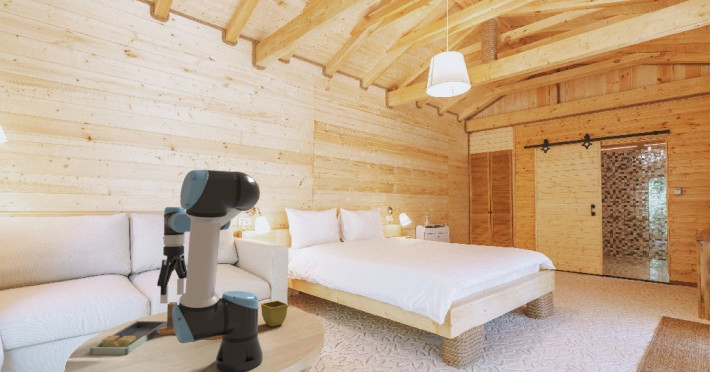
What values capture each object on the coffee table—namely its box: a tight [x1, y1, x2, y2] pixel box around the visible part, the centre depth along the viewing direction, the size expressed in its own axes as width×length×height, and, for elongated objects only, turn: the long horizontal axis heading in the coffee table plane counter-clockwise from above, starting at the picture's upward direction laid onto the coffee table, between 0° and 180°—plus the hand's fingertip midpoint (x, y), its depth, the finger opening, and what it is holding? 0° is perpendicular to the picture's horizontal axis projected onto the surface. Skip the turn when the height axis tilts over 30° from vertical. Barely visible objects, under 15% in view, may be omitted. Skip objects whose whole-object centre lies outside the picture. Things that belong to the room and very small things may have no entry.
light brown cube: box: [118, 336, 136, 347], centre depth 134 cm, size 4×4×4 cm
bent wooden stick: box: [158, 301, 178, 336], centre depth 148 cm, size 3×9×13 cm, turn 91°
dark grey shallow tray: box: [113, 320, 167, 342], centre depth 148 cm, size 16×13×3 cm
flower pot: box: [260, 300, 289, 328], centre depth 163 cm, size 9×9×9 cm
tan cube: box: [101, 335, 120, 347], centre depth 134 cm, size 4×4×4 cm
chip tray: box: [89, 334, 148, 355], centre depth 134 cm, size 12×13×3 cm
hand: (172, 298), depth 148 cm, fingers open, 13 cm apart
